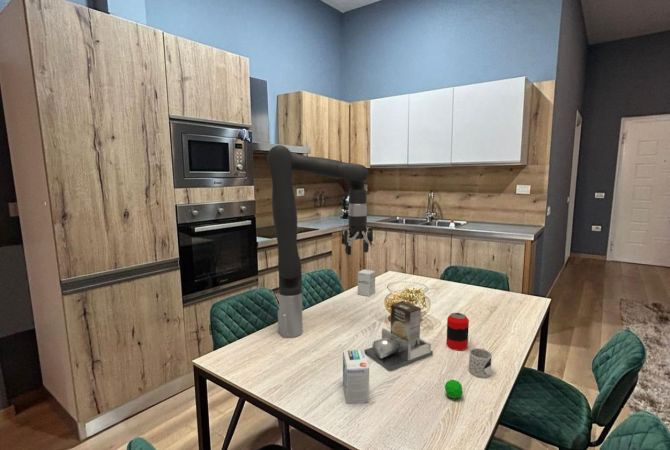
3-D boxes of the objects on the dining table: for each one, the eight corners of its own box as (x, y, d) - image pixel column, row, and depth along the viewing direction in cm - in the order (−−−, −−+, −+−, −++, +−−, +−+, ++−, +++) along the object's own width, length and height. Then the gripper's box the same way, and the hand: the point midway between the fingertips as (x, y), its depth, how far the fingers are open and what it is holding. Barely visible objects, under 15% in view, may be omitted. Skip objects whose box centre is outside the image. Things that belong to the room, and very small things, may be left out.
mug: (488, 380, 111) (489, 360, 110) (466, 374, 115) (467, 355, 114) (493, 366, 120) (494, 347, 119) (472, 360, 123) (473, 342, 122)
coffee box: (389, 345, 130) (389, 304, 128) (400, 340, 134) (401, 300, 132) (408, 355, 123) (409, 311, 121) (420, 350, 127) (421, 307, 125)
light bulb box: (342, 382, 111) (342, 350, 109) (363, 381, 111) (363, 349, 110) (346, 404, 100) (346, 368, 99) (369, 403, 101) (370, 367, 99)
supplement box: (357, 294, 192) (357, 272, 190) (363, 290, 198) (363, 268, 196) (369, 297, 188) (369, 273, 186) (375, 293, 194) (375, 270, 192)
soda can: (467, 343, 136) (468, 313, 134) (467, 352, 129) (469, 320, 127) (446, 340, 139) (447, 310, 137) (446, 349, 132) (447, 318, 130)
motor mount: (389, 371, 117) (390, 350, 116) (364, 353, 128) (364, 334, 127) (432, 355, 127) (433, 335, 126) (405, 340, 139) (405, 321, 138)
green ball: (458, 391, 106) (459, 376, 105) (465, 401, 101) (465, 386, 100) (442, 391, 106) (442, 376, 105) (447, 402, 101) (448, 386, 100)
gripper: (348, 216, 137) (348, 257, 140) (377, 214, 145) (376, 253, 147) (337, 214, 144) (338, 253, 146) (366, 212, 151) (365, 249, 153)
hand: (357, 253), depth 146 cm, fingers open, 8 cm apart
